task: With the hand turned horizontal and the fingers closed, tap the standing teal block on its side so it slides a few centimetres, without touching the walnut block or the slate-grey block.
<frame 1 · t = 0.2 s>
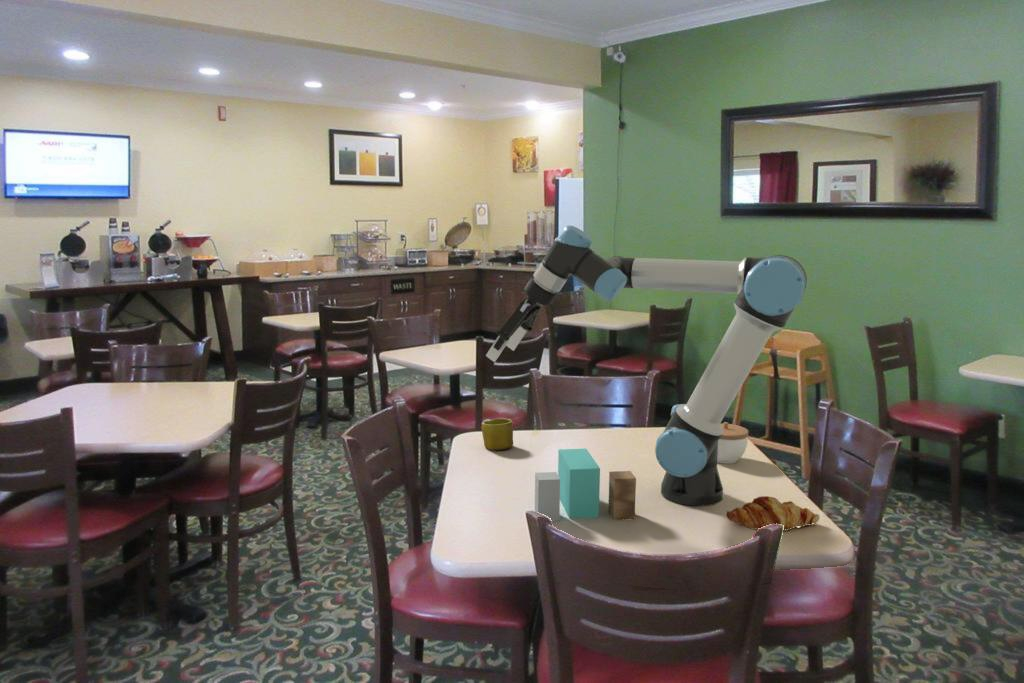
hand: (500, 353, 193), 35 cm above the table, tool tilted 35°, fingers open, 13 cm apart
croissant: (772, 526, 176), on the table
walnut block: (621, 515, 180), on the table
teal block: (577, 506, 186), on the table
lidded bowl: (723, 460, 221), on the table
grey block: (546, 517, 179), on the table
mug: (495, 446, 233), on the table
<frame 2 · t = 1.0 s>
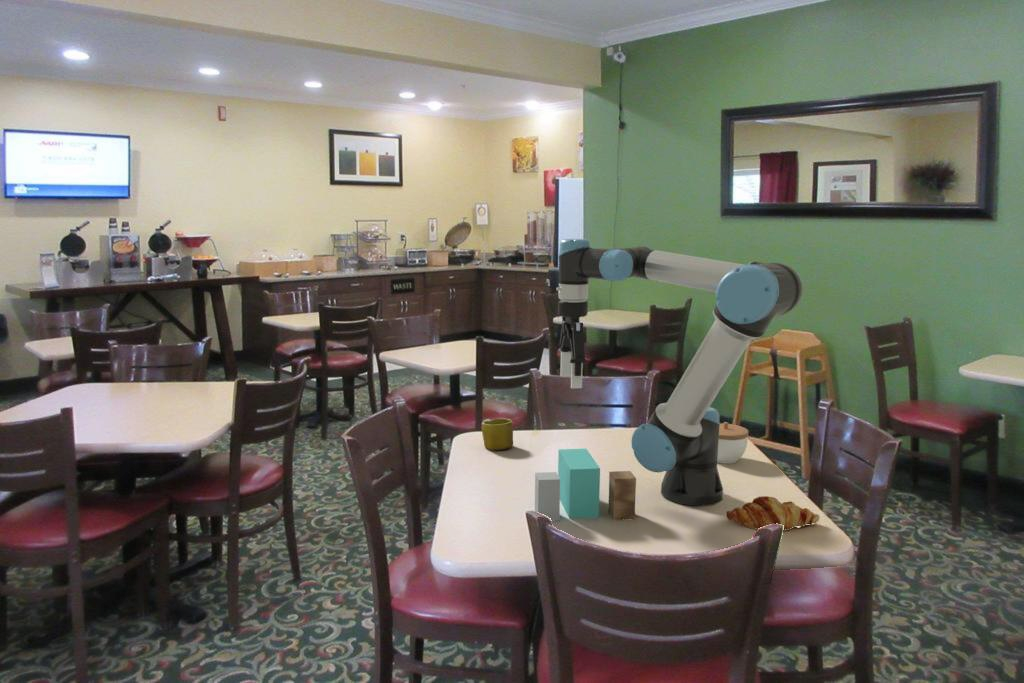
hand: (570, 382, 199), 27 cm above the table, tool pointing down, fingers open, 13 cm apart
nothing on the table moved.
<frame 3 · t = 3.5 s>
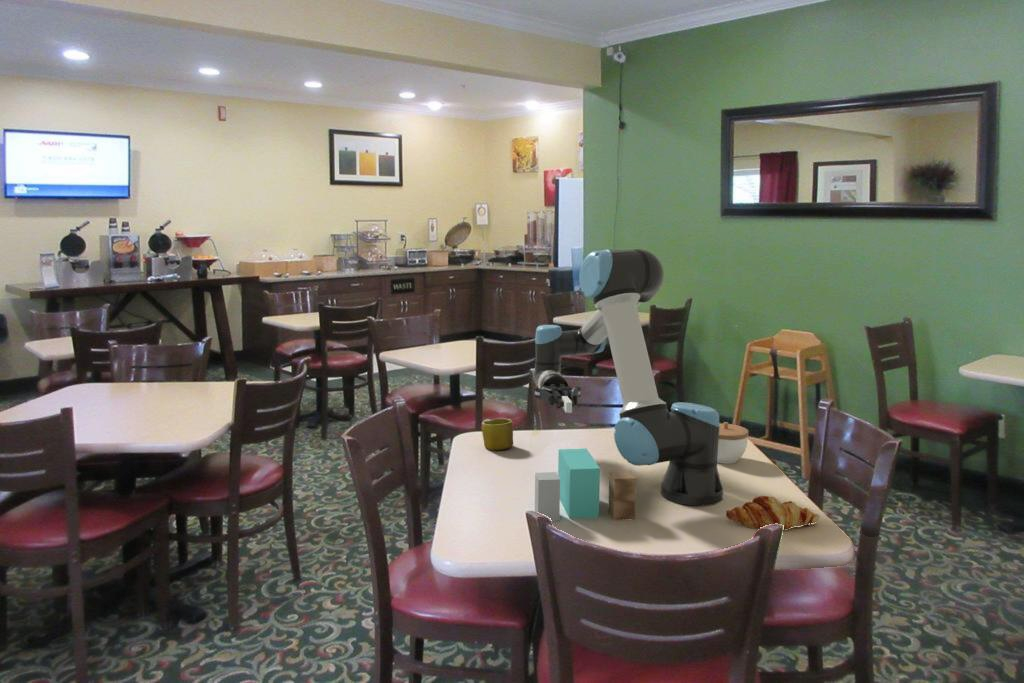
hand: (569, 407, 195), 21 cm above the table, tool horizontal, fingers closed
nothing on the table moved.
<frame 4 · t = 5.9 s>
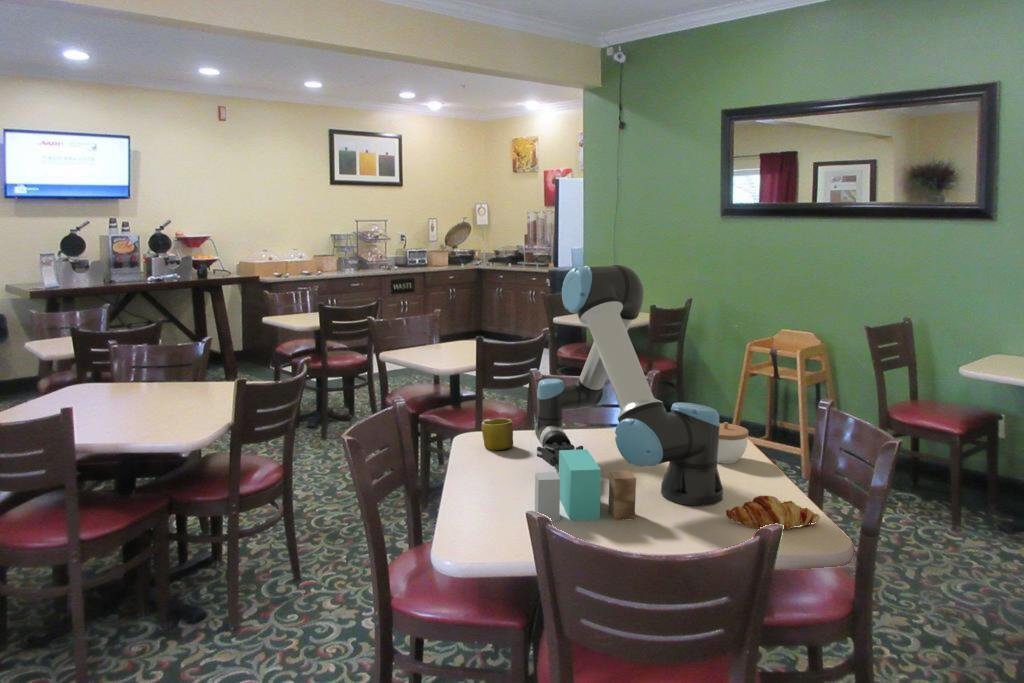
hand: (571, 471, 192), 6 cm above the table, tool horizontal, fingers closed
teal block: (578, 507, 185), on the table, touching gripper
everything else where it was.
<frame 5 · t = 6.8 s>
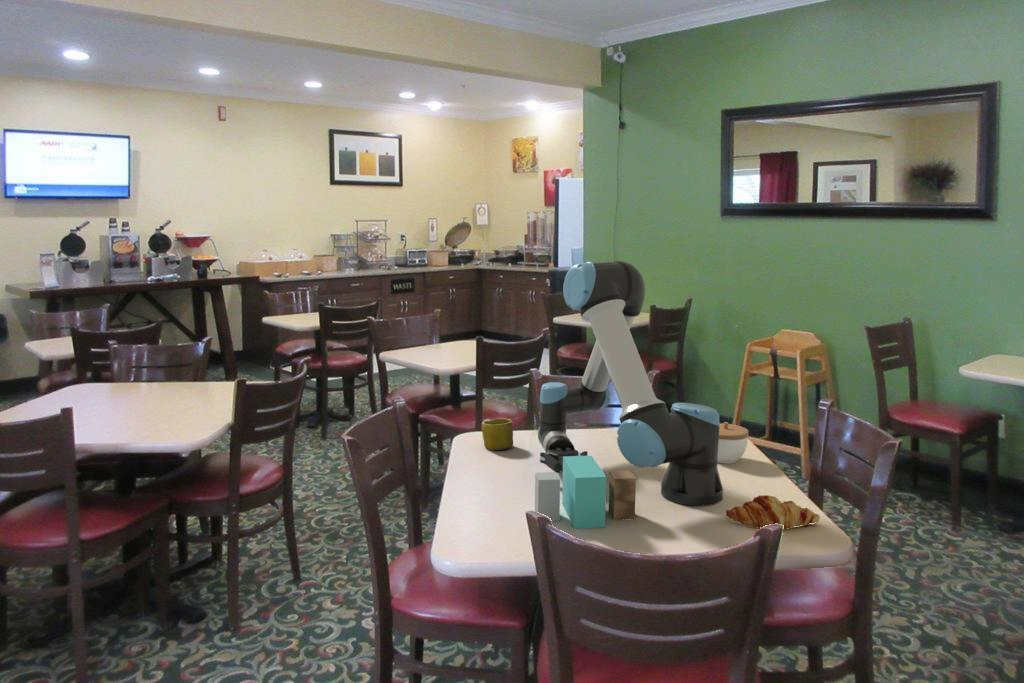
hand: (575, 477, 187), 6 cm above the table, tool horizontal, fingers closed
teal block: (582, 515, 180), on the table, touching gripper
everything else where it was.
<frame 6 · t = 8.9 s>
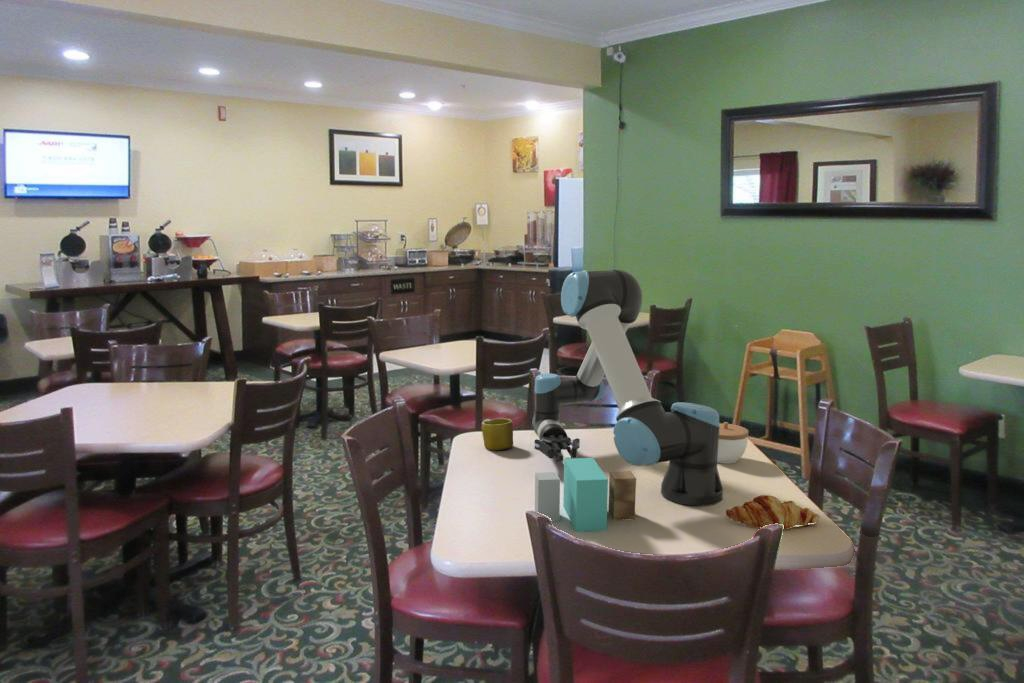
hand: (568, 462, 197), 7 cm above the table, tool horizontal, fingers closed
teal block: (584, 518, 179), on the table
everything else where it was.
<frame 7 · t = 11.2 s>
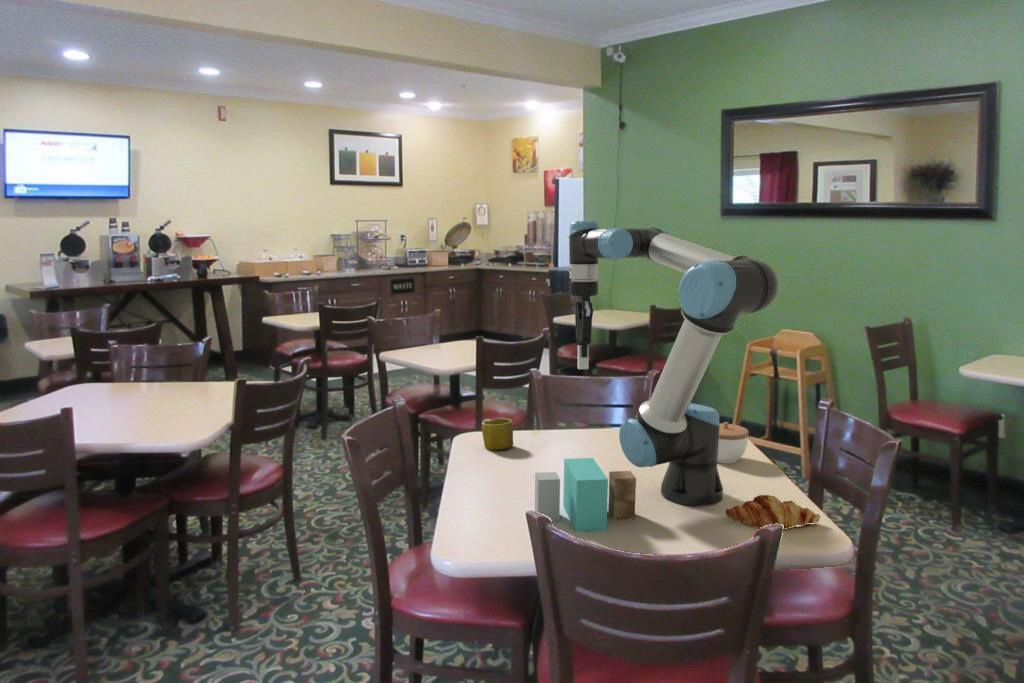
hand: (583, 368, 206), 29 cm above the table, tool pointing down, fingers closed
nothing on the table moved.
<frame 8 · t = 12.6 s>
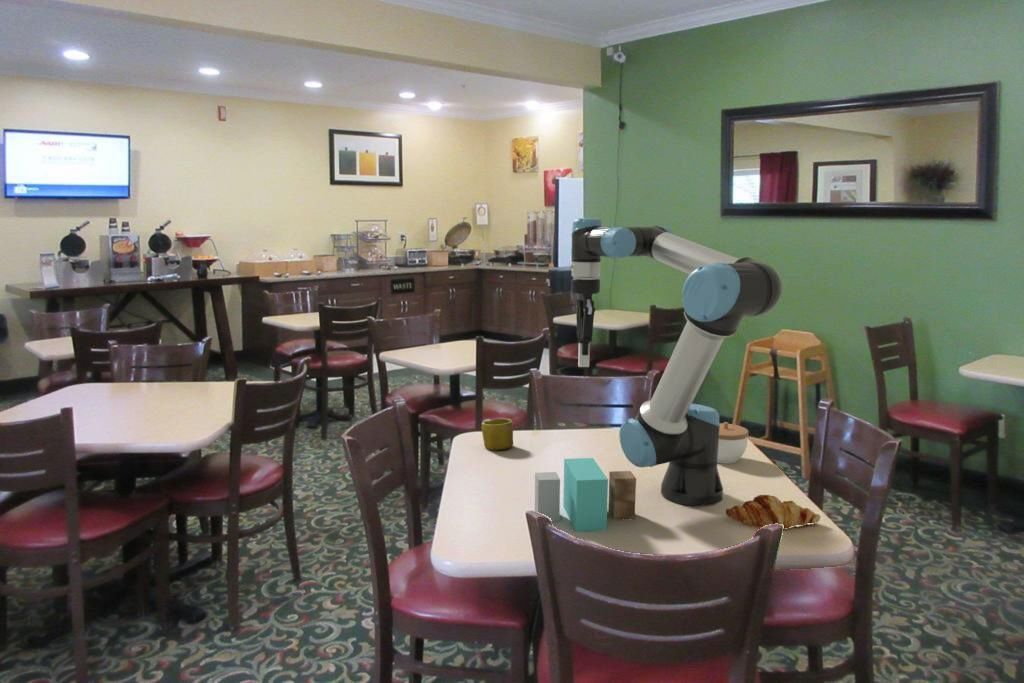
hand: (583, 366, 205), 29 cm above the table, tool pointing down, fingers closed
nothing on the table moved.
at the end: teal block inside the target area (1.2 cm from its centre), on the table; teal block tilted 0°; grey block moved 0.0 cm from its start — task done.
